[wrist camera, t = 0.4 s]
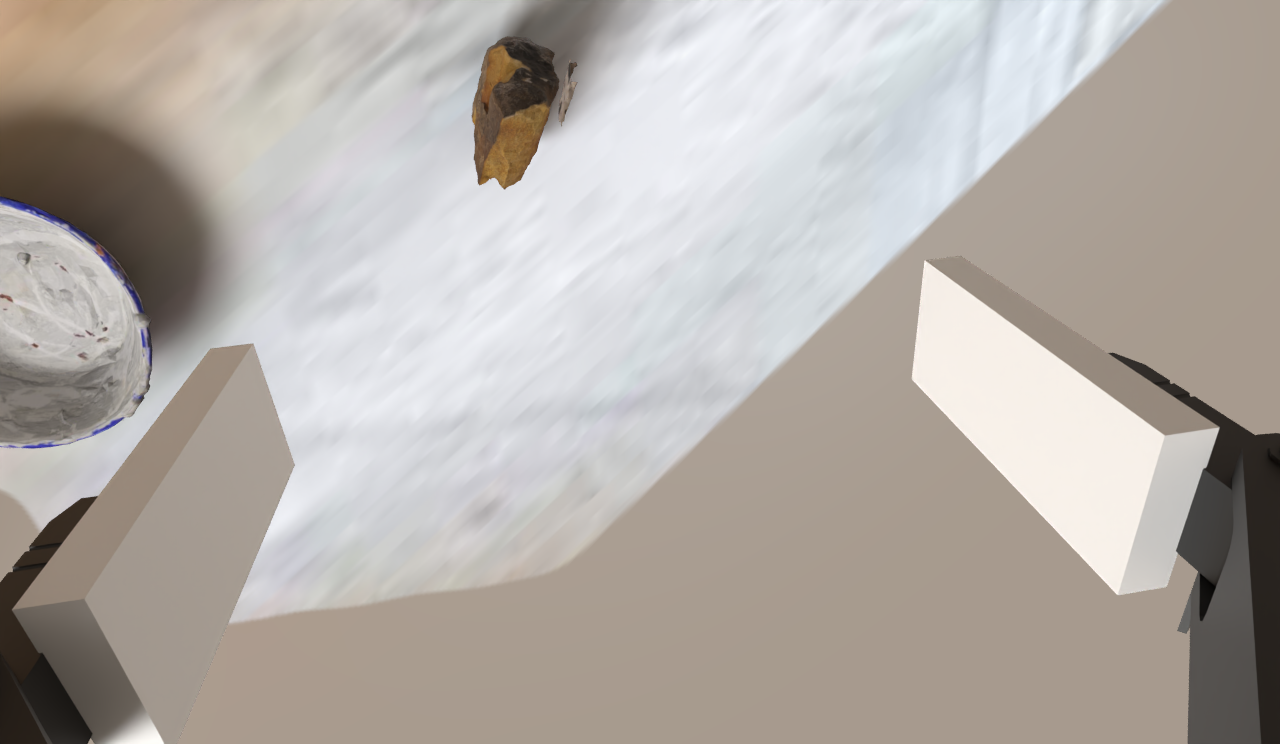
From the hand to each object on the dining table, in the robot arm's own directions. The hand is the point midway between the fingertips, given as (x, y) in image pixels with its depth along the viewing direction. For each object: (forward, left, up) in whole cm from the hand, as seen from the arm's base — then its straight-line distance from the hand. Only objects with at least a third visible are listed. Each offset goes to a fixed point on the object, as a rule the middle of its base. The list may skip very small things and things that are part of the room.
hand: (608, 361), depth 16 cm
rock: (-2, -1, -28) cm, 28 cm away
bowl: (+6, -26, -28) cm, 38 cm away
